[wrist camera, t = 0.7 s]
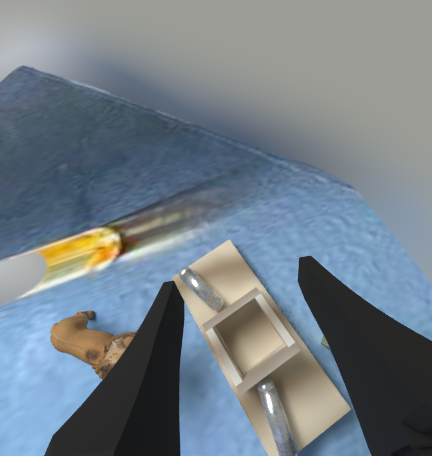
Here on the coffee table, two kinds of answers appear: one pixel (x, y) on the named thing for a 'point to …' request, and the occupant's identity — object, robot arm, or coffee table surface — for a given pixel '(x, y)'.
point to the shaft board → (261, 349)
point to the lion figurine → (89, 342)
